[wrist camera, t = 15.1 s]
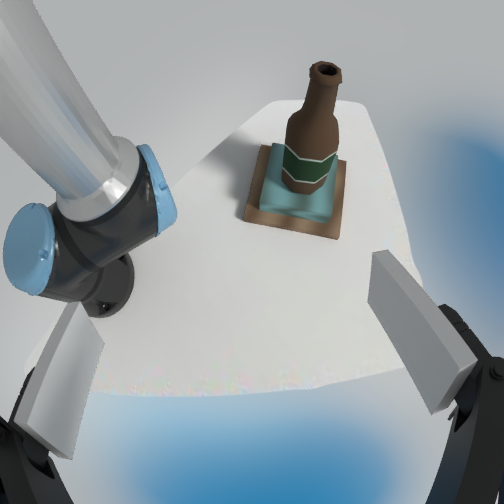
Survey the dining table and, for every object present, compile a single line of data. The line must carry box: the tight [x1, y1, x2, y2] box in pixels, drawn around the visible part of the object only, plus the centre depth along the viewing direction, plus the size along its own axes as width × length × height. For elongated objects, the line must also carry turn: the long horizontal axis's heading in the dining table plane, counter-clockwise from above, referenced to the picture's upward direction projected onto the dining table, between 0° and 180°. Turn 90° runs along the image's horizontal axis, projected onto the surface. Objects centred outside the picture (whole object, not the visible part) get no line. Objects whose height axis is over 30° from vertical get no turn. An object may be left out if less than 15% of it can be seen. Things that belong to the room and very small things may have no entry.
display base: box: [243, 143, 346, 240], centre depth 52 cm, size 17×16×6 cm
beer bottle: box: [281, 61, 342, 195], centre depth 37 cm, size 8×8×24 cm
